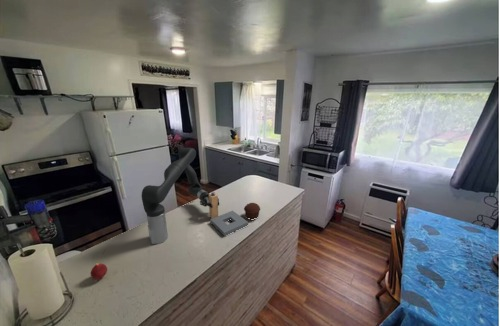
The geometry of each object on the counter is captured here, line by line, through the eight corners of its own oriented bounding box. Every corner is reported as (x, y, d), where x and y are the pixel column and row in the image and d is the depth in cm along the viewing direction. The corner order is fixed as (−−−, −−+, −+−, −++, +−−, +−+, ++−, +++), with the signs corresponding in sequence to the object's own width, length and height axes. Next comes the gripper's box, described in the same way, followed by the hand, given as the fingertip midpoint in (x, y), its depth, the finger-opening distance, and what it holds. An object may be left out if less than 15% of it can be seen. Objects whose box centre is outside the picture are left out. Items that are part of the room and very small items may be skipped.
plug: (212, 218, 130) (211, 195, 125) (209, 215, 134) (208, 192, 129) (218, 216, 133) (217, 193, 128) (215, 213, 136) (214, 191, 131)
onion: (111, 272, 89) (108, 258, 87) (102, 283, 84) (99, 268, 81) (98, 272, 89) (95, 258, 87) (89, 283, 83) (85, 268, 81)
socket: (224, 237, 115) (224, 232, 114) (210, 223, 128) (210, 219, 127) (248, 226, 125) (248, 222, 125) (232, 214, 139) (232, 210, 138)
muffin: (250, 223, 128) (250, 210, 125) (240, 216, 136) (240, 203, 134) (263, 217, 136) (263, 204, 133) (253, 210, 144) (253, 198, 141)
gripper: (194, 194, 136) (205, 203, 123) (212, 189, 145) (224, 197, 132) (195, 203, 138) (206, 213, 125) (212, 198, 147) (224, 207, 134)
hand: (215, 205), depth 129 cm, fingers closed on plug, 4 cm apart
